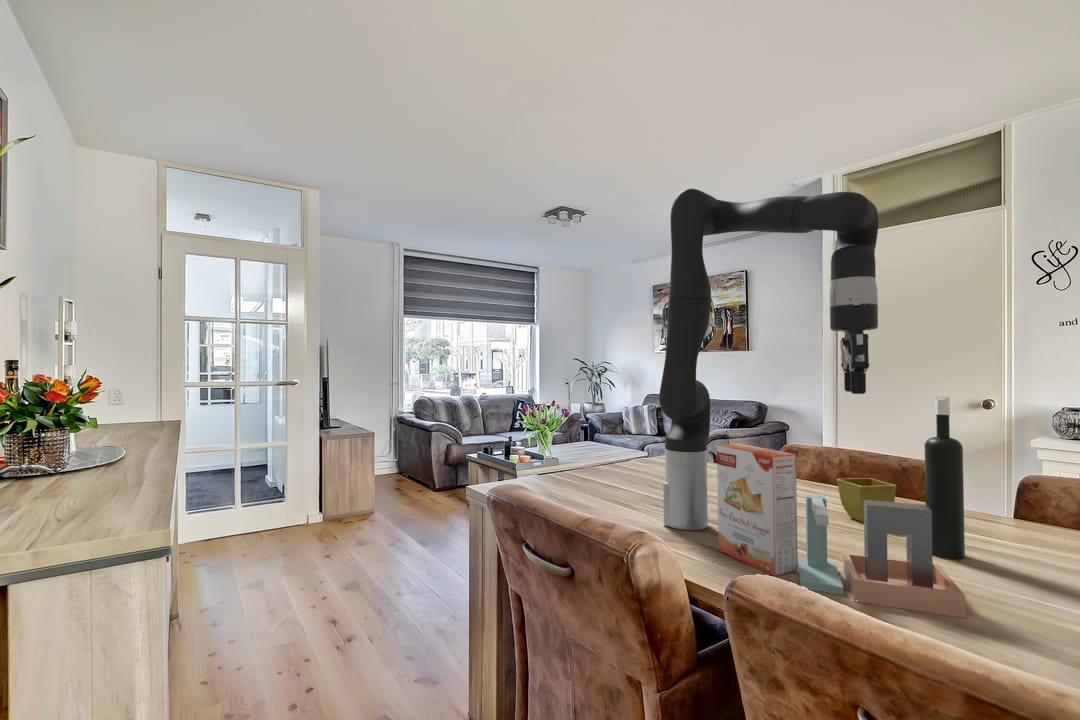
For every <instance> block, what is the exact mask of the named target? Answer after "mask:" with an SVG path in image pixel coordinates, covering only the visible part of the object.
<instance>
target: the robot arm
mask: <svg viewBox="0 0 1080 720" xmlns="http://www.w3.org/2000/svg"><path fill="white" fill-rule="evenodd" d="M813 231H832V232H836V246H835V247H836V249H835V251H833V252H832V255H831V258H830V290H829V320H830V321H829V324H830V325H829V327H830V330H831V331H833V332H843V333H844V337H842V338H841V340H840V350H841V351H840V352H841V353H840V361H841V365H840V366H841V369H842V371H843V373H844V374H843V375H844V376H843V378H844V379H843V381H844V391H845V392H848V393H849V392H850V393H852V394H853V395H864V394H866V392H867V384H866V383H867V382H866V381H867V380H866V379H867V378H866V376H867V372H868V369H869V368H870V363H869V357H870V355H869V339H870V338H869V337H870V336H869V335H868V333H864V331H873V330H877V329H878V327H879V311H878V310H879V308H878V307H879V305H878V303H879V302H878V285H877V279H876V278H877V277H876V274H877V273H876V256H875V253H876V248H877V247H876V246H877V239H878V233H879V213H878V209H877V207H876V205H875V204H874V203H873V202H872V201H871V200H870V199H868V198H867V197H866V196H865V195H863V194H862V193H859V192H853V191H837V192H829V193H822V194H817V195H813V196H811V195H810V196H806V195H801V196H799V195H797V196H796V195H795V196H794V195H793V196H792V195H791V196H790V195H789V196H774V197H768V198H767V197H766V198H762V199H759V200H754V201H750V202H748V201H747V202H734V201H727V200H722V199H717V198H715V197H713V195H710V194H708V193H706V192H704V191H702V190H700V189H697V188H687V189H684V190H682V191H681V192H680V193H678V195H676V197H675V198H674V201H673V203H672V205H671V210H670V238H671V239H670V243H671V258H670V259H671V263H670V278H669V279H670V281H669V292H668V293H669V294H668V301H667V302H668V303H667V306H668V307H667V324H666V337H665V338H666V342H665V343H666V344H665V357H664V363H663V365H664V366H663V371H662V376H661V382H660V389H659V396H658V397H659V406H660V408H661V411H662V412H663V414H664V415H665V416H666V417H667V418H669V419H671V425H670V428H669V431H668V432H667V434H666V435H665V438H664V460H665V461H664V464H665V465H664V469H665V470H664V471H665V472H664V473H665V474H664V475H665V478H664V479H665V481H664V482H663V485H662V487H663V488H662V489H663V492H662V493H663V526H664V527H665V526H666V527H671V528H673V529H676V530H681V531H700V530H701V531H702V530H704V529H705V530H706V528H707V527H708V524H709V523H708V519H709V515H708V450H707V449H708V448H707V447H708V446H707V444H708V441H709V437H710V433H711V432H710V430H711V397H710V396H711V395H710V393H709V391H708V388H707V386H706V385H705V384H704V383H703V382H701V381H700V380H697V366H698V365H697V363H698V357H699V353H700V350H701V347H702V345H703V342H704V340H705V337H706V334H707V331H708V328H709V324H710V319H711V307H712V303H711V302H712V288H711V282H710V279H709V275H708V272H707V269H706V265H705V261H704V255H703V253H704V252H703V251H704V250H703V244H704V243H703V242H704V237H705V236H715V235H720V234H726V233H727V234H728V233H739V232H757V233H758V232H763V233H780V234H781V233H782V234H809V233H811V232H813Z"/></svg>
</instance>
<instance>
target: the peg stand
mask: <svg viewBox="0 0 1080 720" xmlns="http://www.w3.org/2000/svg"><path fill="white" fill-rule="evenodd" d="M827 507H828V506H827V498H826V495H825V494H814V493H805V520H806V525H805V526H806V528H805V530H806V532H805V533H806V534H805V536H806V537H805V538H806V559H805V558H804V559H803V558H798V571H797V572H798V577H799V585H801V586H804V587H806V588H808V589H811V590H810V591H812V590H813V591H814V592H819V591H823V592H822V593H826V592H828V594H832V595H833V594H834V595H839V594H840V596H845V595H844V593H845V591H844V584H843V582H842V579H841V575H840V573H839V570H838V567H837V564H836V563H835V562H829V561H828V527H829V514H828V512H827V511H828V510H827ZM801 586H800V587H801ZM824 591H826V592H824Z"/></svg>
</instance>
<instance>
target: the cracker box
mask: <svg viewBox="0 0 1080 720" xmlns="http://www.w3.org/2000/svg"><path fill="white" fill-rule="evenodd" d="M796 455H797V454H796V453H790V452H788V451H787V452H785V451H782V450H775V449H771V448H764V447H761V446H760V447H759V446H756V445H749V444H744V443H737V442H736V443H723V444H719V445H717V446H716V456H717V457H716V460H717V461H716V462H717V463H716V464H717V465H716V466H717V468H716V469H717V472H716V473H717V520H718V521H717V529H718V530H717V532H718V533H717V534H718V535H717V536H718V551H720V552H722V553H724V554H726V555H729V556H730V557H732V558H734V559H737V560H739V561H741V562H743V563H745V564H747V565H750V566H751V567H754V568H755V569H758V570H760V571H762V572H763V573H766V574H768V575H770V576H772V575H773V576H772V577H777V576H783V575H786V574H787V575H788V574H791V573H796V572H798V559H799V557H798V552H799V551H798V504H797V503H798V501H797V499H798V498H797V496H798V495H797V456H796Z"/></svg>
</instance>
